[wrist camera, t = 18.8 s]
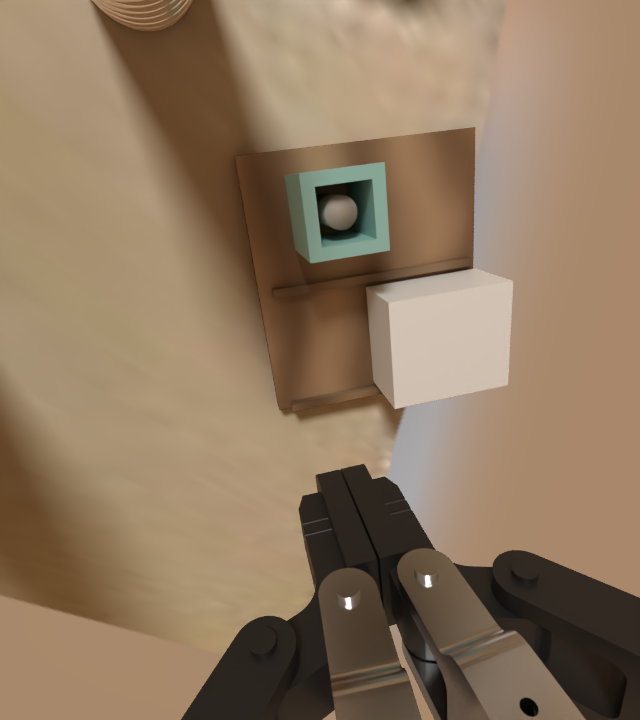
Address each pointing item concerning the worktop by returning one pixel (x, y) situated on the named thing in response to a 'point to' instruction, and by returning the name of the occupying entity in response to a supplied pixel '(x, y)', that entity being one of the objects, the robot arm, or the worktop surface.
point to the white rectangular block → (440, 335)
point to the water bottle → (145, 12)
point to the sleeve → (368, 227)
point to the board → (353, 274)
